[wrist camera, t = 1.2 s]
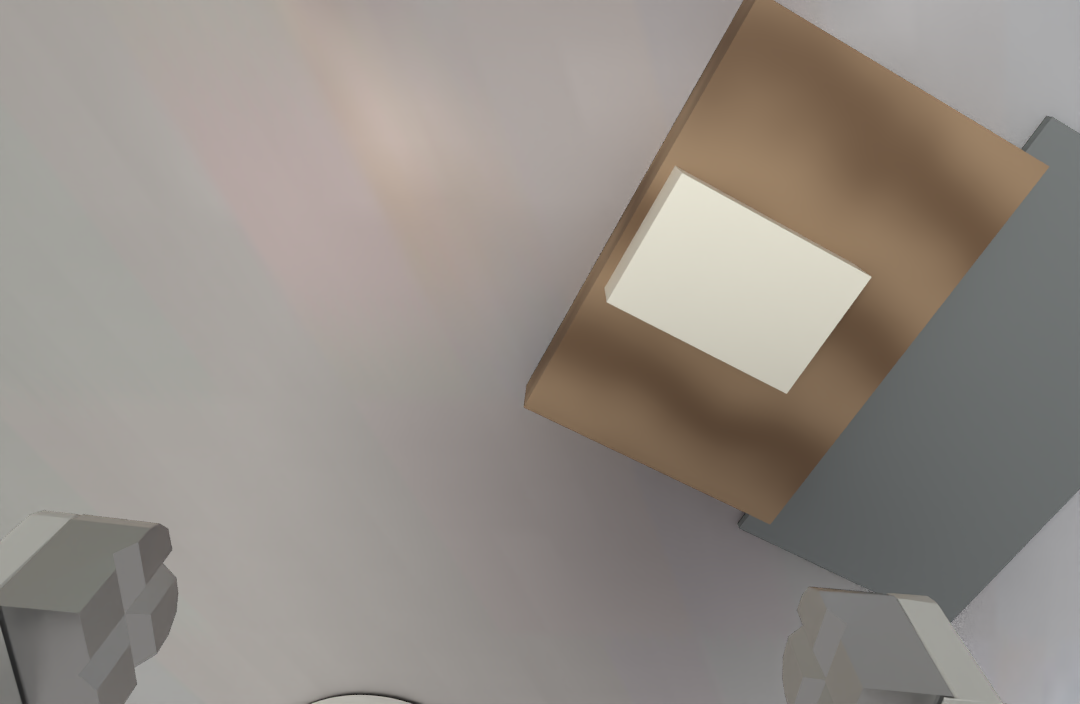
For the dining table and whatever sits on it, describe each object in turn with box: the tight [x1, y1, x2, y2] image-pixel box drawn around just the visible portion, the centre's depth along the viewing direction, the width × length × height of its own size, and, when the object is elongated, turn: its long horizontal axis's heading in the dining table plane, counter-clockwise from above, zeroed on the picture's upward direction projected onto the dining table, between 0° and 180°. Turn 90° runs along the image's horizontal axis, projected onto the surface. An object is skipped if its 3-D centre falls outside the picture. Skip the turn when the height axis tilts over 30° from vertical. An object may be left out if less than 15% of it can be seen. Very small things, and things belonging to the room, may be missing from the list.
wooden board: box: [524, 0, 1049, 524], centre depth 33 cm, size 20×14×2 cm
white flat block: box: [605, 166, 871, 394], centre depth 31 cm, size 6×9×2 cm, turn 63°
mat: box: [738, 116, 1080, 623], centre depth 36 cm, size 24×14×1 cm, turn 153°
